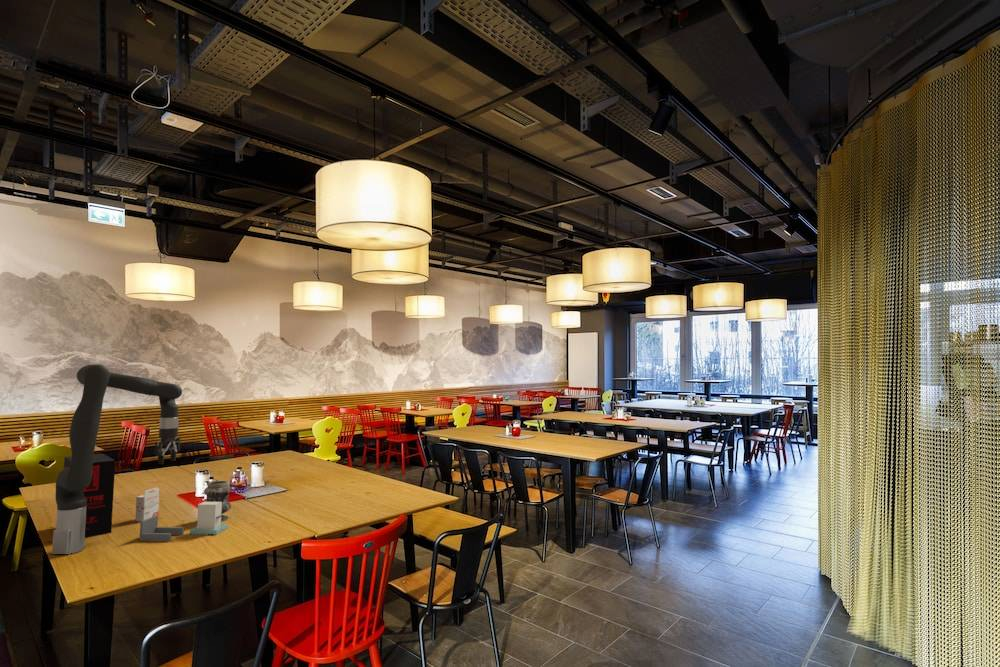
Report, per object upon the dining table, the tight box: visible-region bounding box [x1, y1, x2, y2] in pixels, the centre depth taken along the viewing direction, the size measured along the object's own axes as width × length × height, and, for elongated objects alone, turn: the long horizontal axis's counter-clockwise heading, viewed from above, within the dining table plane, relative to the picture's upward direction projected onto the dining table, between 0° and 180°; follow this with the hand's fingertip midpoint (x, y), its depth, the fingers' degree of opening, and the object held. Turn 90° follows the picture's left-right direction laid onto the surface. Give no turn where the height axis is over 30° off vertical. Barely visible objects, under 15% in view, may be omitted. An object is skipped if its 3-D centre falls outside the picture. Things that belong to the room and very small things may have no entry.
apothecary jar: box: [203, 480, 232, 522], centre depth 251 cm, size 12×12×18 cm
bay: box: [139, 514, 185, 542], centre depth 224 cm, size 10×13×8 cm
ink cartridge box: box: [135, 486, 160, 522], centre depth 251 cm, size 9×5×15 cm, turn 168°
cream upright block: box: [196, 501, 223, 530], centre depth 233 cm, size 5×9×12 cm, turn 89°
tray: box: [189, 523, 229, 536], centre depth 233 cm, size 9×12×2 cm
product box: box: [63, 453, 116, 538], centre depth 235 cm, size 26×14×32 cm, turn 48°
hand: (166, 462), depth 238 cm, fingers open, 8 cm apart
